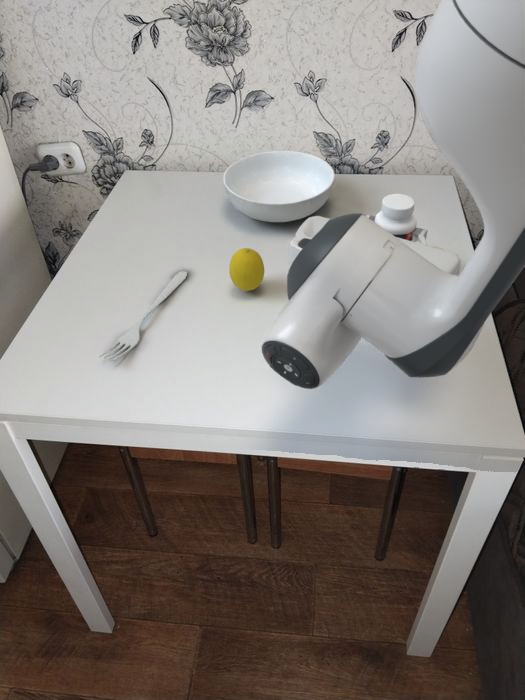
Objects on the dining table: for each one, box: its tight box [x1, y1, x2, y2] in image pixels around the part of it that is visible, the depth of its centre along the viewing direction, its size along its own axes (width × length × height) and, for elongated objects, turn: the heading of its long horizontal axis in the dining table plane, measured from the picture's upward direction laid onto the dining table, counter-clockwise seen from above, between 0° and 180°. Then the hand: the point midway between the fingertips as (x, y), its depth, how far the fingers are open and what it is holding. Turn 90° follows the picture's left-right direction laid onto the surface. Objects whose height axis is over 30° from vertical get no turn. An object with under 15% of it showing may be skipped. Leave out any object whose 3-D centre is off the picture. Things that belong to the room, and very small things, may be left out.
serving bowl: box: [222, 150, 336, 223], centre depth 112 cm, size 21×21×7 cm
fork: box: [98, 270, 188, 363], centre depth 92 cm, size 3×24×2 cm, turn 158°
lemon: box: [229, 247, 265, 291], centre depth 93 cm, size 6×6×8 cm
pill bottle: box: [374, 193, 418, 241], centre depth 77 cm, size 5×5×10 cm
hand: (396, 226), depth 78 cm, fingers closed on pill bottle, 5 cm apart
